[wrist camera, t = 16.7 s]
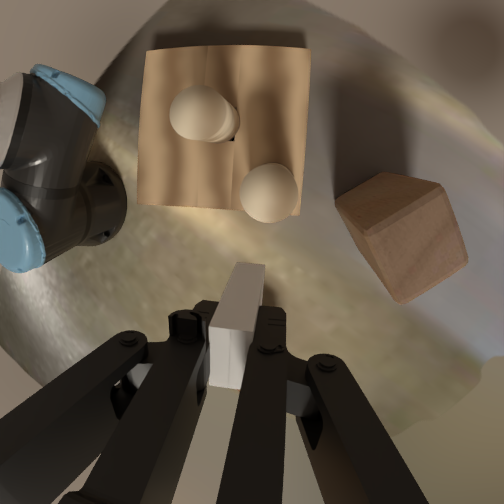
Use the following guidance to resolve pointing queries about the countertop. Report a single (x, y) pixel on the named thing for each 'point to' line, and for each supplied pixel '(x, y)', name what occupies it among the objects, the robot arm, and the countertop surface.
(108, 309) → the countertop surface
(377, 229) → the block
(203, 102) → the peg
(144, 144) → the seat board
